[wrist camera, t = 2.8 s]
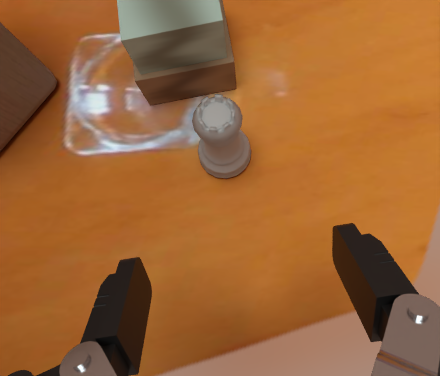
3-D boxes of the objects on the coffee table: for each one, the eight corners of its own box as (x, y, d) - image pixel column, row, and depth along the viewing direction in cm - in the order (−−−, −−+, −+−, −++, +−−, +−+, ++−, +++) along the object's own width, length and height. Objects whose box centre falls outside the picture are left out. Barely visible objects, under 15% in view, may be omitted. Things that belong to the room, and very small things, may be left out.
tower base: (150, 105, 29) (114, 48, 22) (141, 32, 31) (106, -45, 23) (236, 88, 29) (231, 24, 21) (222, 15, 31) (213, -68, 23)
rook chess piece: (192, 170, 28) (169, 134, 20) (209, 124, 28) (194, 72, 21) (241, 186, 27) (238, 155, 19) (258, 139, 28) (261, 90, 20)
